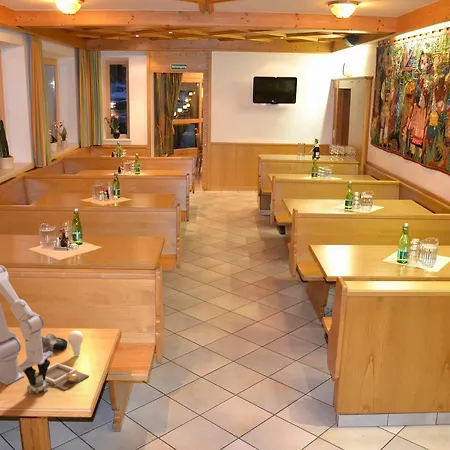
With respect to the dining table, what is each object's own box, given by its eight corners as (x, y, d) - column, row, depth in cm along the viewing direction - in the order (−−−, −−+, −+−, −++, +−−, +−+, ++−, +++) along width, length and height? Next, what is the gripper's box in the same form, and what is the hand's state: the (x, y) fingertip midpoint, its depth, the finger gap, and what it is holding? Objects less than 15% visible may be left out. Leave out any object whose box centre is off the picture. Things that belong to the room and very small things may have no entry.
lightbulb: (69, 360, 235) (67, 335, 232) (69, 353, 240) (67, 329, 238) (84, 357, 236) (82, 333, 233) (84, 351, 242) (82, 327, 239)
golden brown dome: (64, 381, 216) (63, 375, 216) (72, 376, 220) (72, 370, 219) (72, 384, 214) (71, 378, 214) (80, 379, 218) (80, 373, 217)
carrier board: (33, 378, 220) (33, 377, 220) (58, 365, 230) (58, 364, 230) (64, 390, 211) (64, 389, 211) (89, 376, 221) (88, 375, 221)
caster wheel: (69, 351, 248) (56, 358, 238) (46, 343, 251) (33, 350, 241) (72, 337, 247) (59, 343, 237) (49, 329, 250) (36, 335, 240)
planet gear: (23, 390, 210) (21, 376, 209) (39, 381, 216) (38, 368, 215) (36, 396, 206) (35, 382, 205) (53, 386, 212) (52, 373, 211)
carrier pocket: (35, 376, 220) (35, 374, 220) (57, 365, 229) (57, 362, 229) (54, 384, 215) (54, 381, 214) (76, 372, 223) (76, 369, 223)
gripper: (24, 358, 199) (28, 393, 203) (57, 343, 211) (60, 376, 214) (11, 354, 203) (15, 388, 206) (44, 338, 215) (47, 371, 218)
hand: (37, 382), depth 211 cm, fingers closed on planet gear, 4 cm apart
